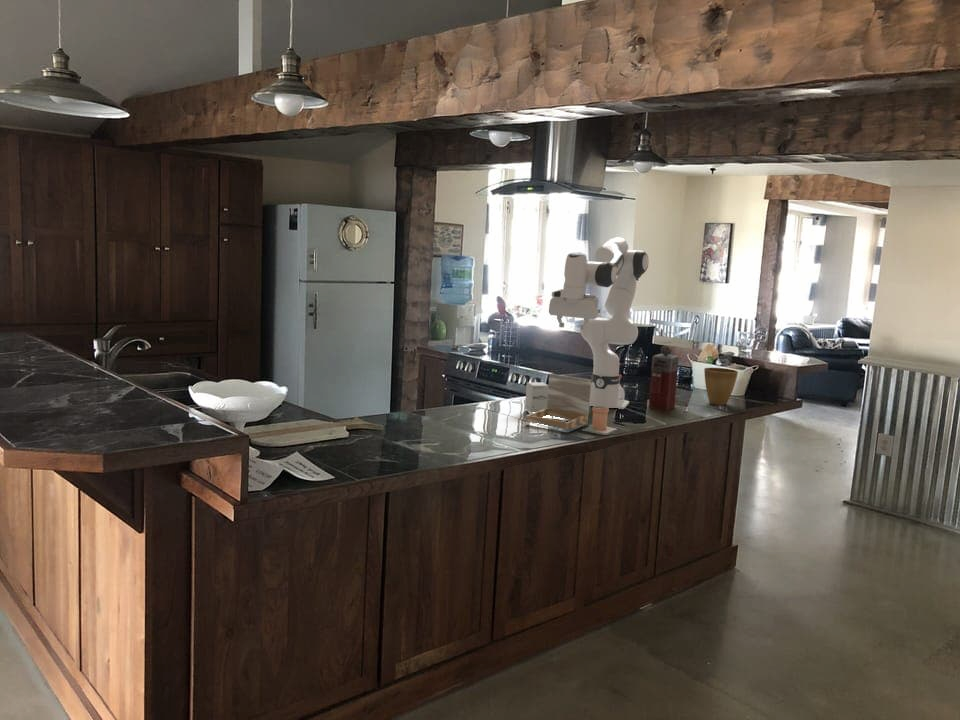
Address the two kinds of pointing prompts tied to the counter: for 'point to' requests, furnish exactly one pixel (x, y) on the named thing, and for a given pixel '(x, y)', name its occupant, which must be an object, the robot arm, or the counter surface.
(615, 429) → the stone paver
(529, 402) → the supplement box
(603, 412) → the terracotta pot
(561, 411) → the cold frame
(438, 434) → the counter surface
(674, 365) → the red liquid bottle
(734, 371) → the plant pot
